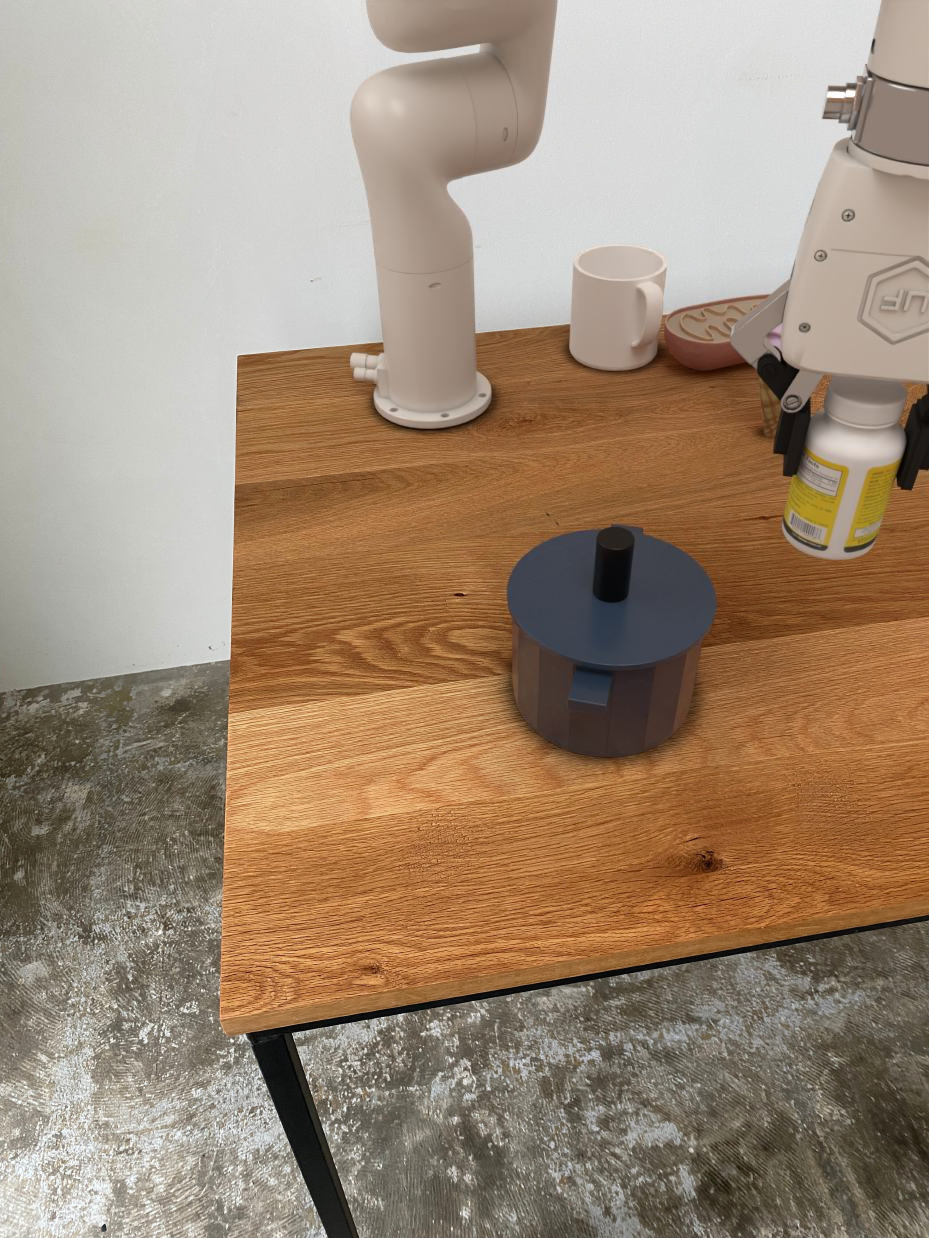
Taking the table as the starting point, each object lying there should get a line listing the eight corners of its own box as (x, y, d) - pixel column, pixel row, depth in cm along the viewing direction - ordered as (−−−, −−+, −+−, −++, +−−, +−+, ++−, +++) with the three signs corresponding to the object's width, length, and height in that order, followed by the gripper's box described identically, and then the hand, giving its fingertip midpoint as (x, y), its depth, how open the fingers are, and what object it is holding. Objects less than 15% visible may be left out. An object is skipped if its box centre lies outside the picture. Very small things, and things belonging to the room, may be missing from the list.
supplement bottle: (869, 513, 58) (917, 367, 51) (877, 569, 54) (930, 418, 47) (778, 504, 59) (813, 359, 52) (780, 557, 55) (818, 408, 48)
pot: (486, 769, 63) (484, 676, 57) (540, 596, 76) (542, 506, 70) (677, 805, 61) (696, 712, 55) (699, 620, 74) (716, 529, 68)
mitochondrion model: (677, 390, 100) (683, 347, 97) (645, 349, 107) (650, 307, 104) (874, 364, 103) (887, 321, 100) (831, 325, 110) (841, 284, 107)
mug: (553, 342, 109) (556, 255, 102) (626, 324, 112) (634, 238, 105) (609, 390, 101) (617, 297, 94) (687, 368, 104) (700, 277, 97)
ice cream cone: (804, 456, 90) (841, 307, 80) (738, 451, 91) (766, 303, 81) (800, 421, 95) (835, 275, 85) (737, 416, 96) (764, 272, 86)
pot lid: (485, 657, 59) (483, 591, 56) (530, 529, 69) (531, 465, 65) (706, 694, 57) (720, 626, 53) (720, 555, 66) (733, 489, 62)
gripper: (739, 136, 40) (685, 489, 52) (1194, 155, 36) (1021, 529, 48) (747, 90, 45) (696, 420, 57) (1144, 103, 42) (999, 452, 54)
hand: (845, 467), depth 53 cm, fingers closed on supplement bottle, 5 cm apart
